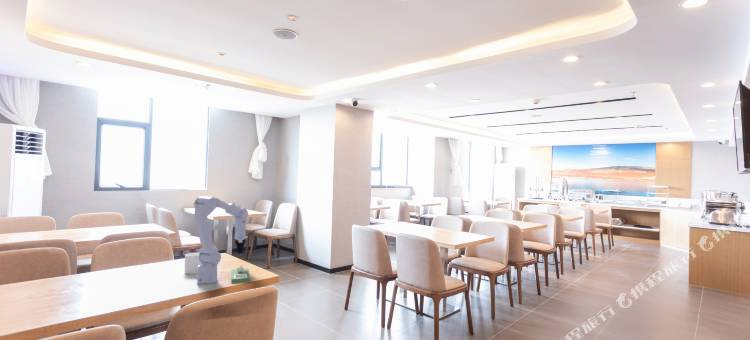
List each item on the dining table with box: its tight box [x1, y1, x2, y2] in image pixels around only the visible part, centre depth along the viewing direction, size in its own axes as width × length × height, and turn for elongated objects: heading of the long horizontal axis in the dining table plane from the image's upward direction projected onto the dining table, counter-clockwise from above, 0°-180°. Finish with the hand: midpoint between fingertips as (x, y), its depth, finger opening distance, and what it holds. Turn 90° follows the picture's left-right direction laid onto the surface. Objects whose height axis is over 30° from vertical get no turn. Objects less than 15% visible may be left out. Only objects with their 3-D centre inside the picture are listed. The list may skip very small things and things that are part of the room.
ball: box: [236, 265, 245, 272], centre depth 203 cm, size 4×4×4 cm
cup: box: [184, 252, 202, 275], centre depth 210 cm, size 8×12×10 cm
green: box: [230, 268, 251, 284], centre depth 201 cm, size 9×18×2 cm, turn 21°
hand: (239, 252), depth 212 cm, fingers closed
